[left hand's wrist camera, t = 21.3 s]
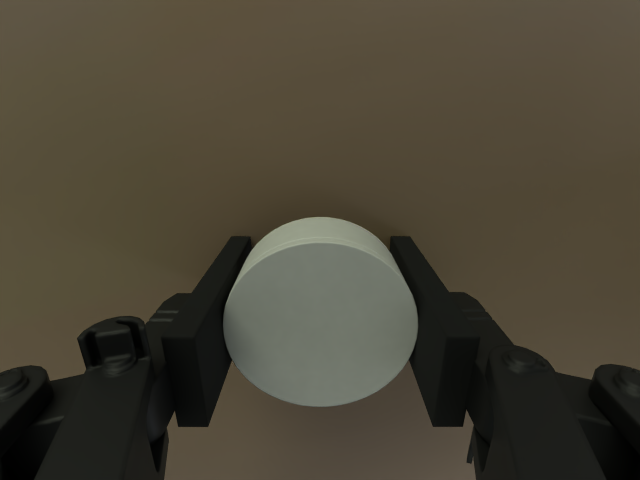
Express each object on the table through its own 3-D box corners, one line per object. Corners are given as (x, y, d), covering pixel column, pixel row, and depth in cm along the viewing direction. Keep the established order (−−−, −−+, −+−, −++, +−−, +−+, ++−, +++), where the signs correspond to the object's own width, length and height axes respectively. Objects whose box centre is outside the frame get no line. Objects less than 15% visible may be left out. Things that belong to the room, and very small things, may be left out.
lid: (298, 381, 14) (294, 432, 11) (205, 271, 12) (181, 307, 10) (428, 314, 12) (451, 356, 10) (347, 183, 11) (355, 201, 9)
